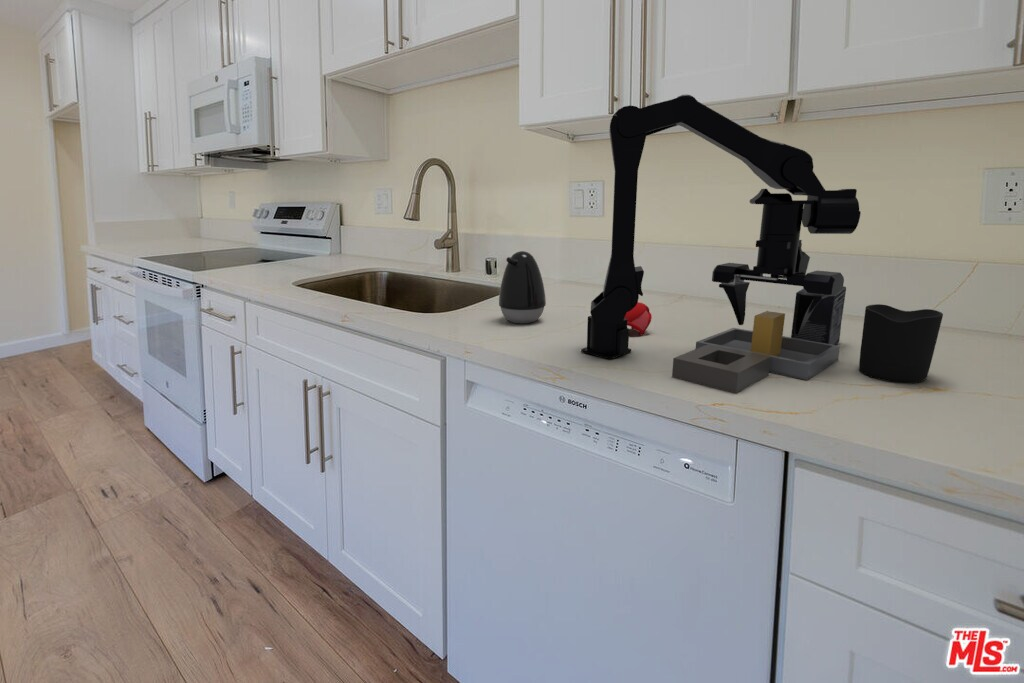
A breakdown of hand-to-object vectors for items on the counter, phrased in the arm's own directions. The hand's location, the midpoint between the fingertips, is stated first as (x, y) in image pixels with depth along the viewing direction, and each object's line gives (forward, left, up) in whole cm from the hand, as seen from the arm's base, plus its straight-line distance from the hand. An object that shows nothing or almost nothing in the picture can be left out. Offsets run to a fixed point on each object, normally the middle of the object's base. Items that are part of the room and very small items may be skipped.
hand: (768, 329), depth 91 cm
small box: (+3, +14, -5) cm, 15 cm away
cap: (-26, -1, -5) cm, 26 cm away
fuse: (0, 0, -4) cm, 4 cm away
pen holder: (+17, +5, -5) cm, 18 cm away
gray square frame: (-1, -14, -5) cm, 15 cm away
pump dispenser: (-49, -9, -5) cm, 50 cm away
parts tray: (0, 0, -5) cm, 5 cm away
